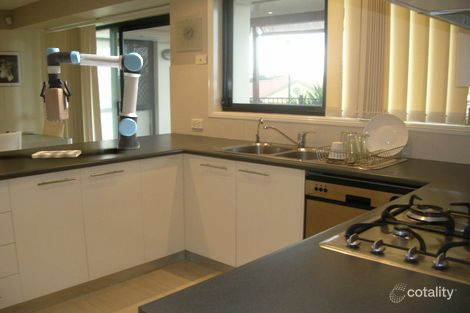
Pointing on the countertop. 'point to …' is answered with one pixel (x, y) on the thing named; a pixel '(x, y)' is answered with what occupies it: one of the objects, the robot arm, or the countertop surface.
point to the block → (56, 104)
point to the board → (56, 154)
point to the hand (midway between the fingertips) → (57, 107)
